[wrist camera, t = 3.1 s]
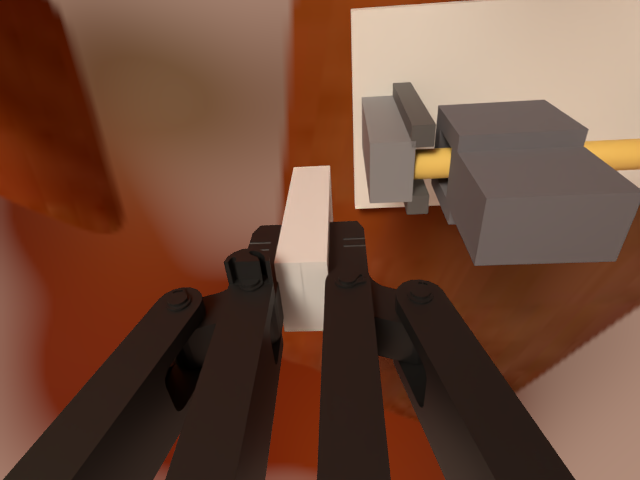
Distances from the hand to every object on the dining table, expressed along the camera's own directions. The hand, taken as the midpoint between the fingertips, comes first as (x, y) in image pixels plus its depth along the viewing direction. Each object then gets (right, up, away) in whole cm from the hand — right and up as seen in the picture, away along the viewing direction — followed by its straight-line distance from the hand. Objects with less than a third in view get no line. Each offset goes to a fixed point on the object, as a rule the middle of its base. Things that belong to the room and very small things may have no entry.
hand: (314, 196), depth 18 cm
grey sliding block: (+9, +3, +3) cm, 10 cm away
